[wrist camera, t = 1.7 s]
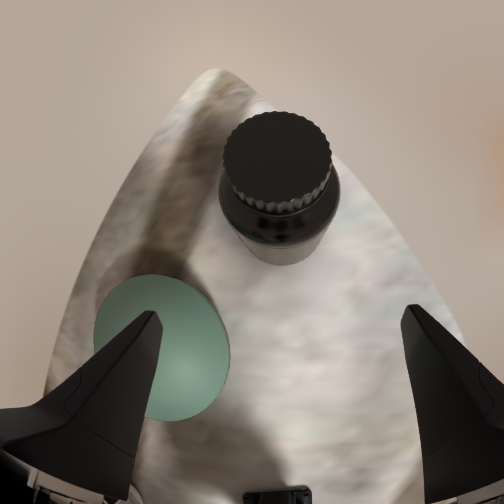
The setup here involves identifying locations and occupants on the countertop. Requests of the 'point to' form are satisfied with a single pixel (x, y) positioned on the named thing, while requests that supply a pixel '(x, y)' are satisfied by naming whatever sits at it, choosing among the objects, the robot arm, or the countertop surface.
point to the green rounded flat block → (172, 342)
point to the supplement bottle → (279, 186)
